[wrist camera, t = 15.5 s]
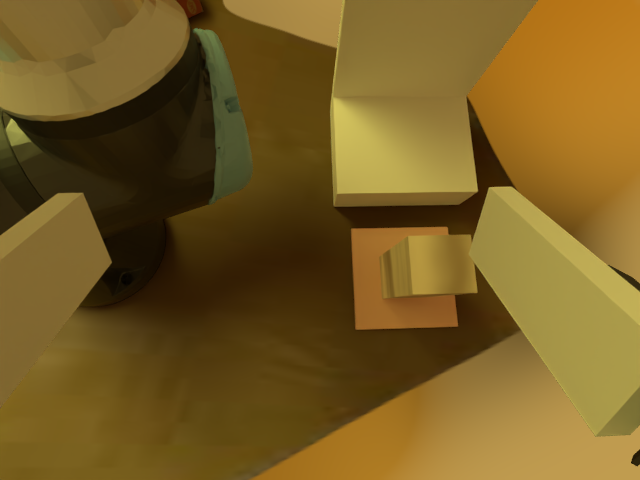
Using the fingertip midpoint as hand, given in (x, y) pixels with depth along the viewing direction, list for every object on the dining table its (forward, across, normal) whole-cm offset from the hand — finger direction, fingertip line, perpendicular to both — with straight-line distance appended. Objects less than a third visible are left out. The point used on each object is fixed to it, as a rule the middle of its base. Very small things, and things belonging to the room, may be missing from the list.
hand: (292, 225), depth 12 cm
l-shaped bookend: (+33, +12, -9) cm, 36 cm away
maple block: (+21, +12, -20) cm, 31 cm away
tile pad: (+21, +12, -20) cm, 32 cm away
